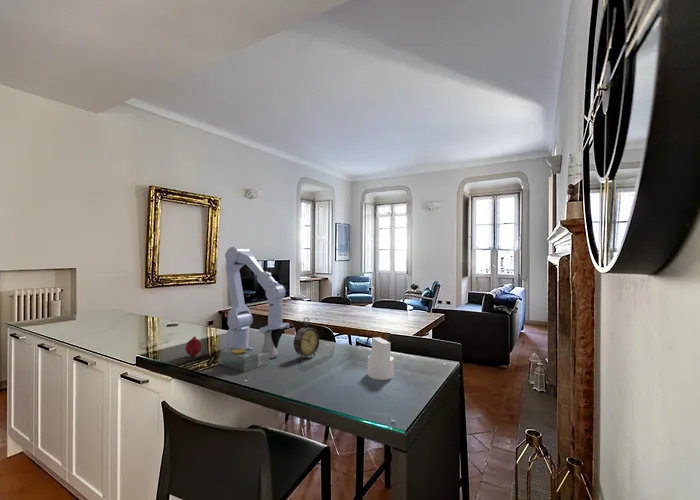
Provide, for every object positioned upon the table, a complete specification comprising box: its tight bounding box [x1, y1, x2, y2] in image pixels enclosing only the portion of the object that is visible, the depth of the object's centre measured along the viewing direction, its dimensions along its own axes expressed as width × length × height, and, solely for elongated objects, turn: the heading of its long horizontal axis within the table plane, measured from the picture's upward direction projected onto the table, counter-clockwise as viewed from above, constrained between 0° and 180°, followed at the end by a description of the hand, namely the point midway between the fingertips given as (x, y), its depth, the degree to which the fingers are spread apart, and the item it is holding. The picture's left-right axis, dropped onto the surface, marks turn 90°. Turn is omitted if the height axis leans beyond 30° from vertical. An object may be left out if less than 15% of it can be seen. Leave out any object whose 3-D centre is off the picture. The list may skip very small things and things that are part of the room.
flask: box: [260, 331, 279, 359], centre depth 136 cm, size 7×7×10 cm
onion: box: [185, 336, 203, 358], centre depth 134 cm, size 6×6×8 cm
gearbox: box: [219, 346, 271, 373], centre depth 127 cm, size 14×12×6 cm
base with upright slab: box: [367, 336, 395, 381], centre depth 118 cm, size 9×9×12 cm
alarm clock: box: [293, 316, 320, 361], centre depth 137 cm, size 11×5×16 cm, turn 143°
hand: (274, 348), depth 139 cm, fingers closed
